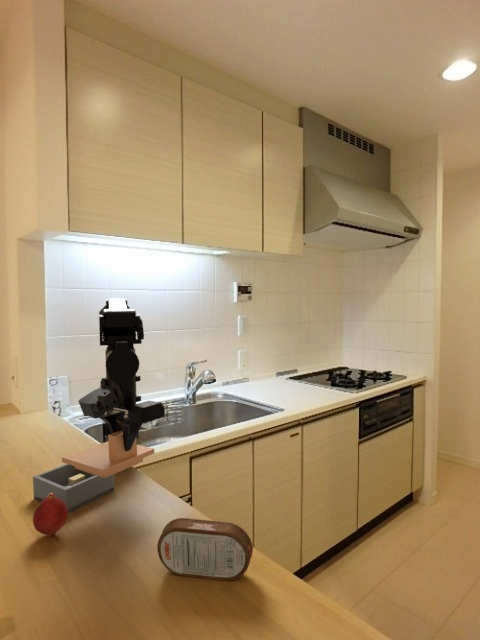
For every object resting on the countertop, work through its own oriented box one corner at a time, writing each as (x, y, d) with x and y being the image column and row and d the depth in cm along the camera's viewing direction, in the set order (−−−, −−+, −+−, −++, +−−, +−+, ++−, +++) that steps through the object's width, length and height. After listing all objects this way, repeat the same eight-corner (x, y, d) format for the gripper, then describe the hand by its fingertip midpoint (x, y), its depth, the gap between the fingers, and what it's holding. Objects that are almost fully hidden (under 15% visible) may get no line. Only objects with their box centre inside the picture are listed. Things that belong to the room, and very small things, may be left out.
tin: (253, 573, 64) (252, 521, 63) (250, 587, 61) (249, 532, 60) (162, 563, 66) (161, 513, 66) (155, 576, 63) (154, 524, 63)
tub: (81, 478, 98) (81, 458, 98) (114, 490, 92) (113, 469, 92) (33, 498, 88) (32, 476, 88) (66, 514, 82) (65, 490, 82)
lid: (114, 449, 93) (113, 417, 92) (154, 460, 85) (153, 425, 85) (62, 469, 82) (60, 432, 82) (102, 483, 74) (101, 443, 74)
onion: (33, 548, 71) (32, 504, 70) (33, 532, 76) (32, 490, 75) (69, 539, 73) (68, 496, 73) (67, 523, 78) (65, 483, 78)
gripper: (56, 374, 79) (59, 452, 79) (118, 383, 68) (121, 473, 69) (104, 366, 88) (106, 437, 89) (165, 373, 78) (167, 453, 78)
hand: (123, 449), depth 81 cm, fingers closed on lid, 2 cm apart
